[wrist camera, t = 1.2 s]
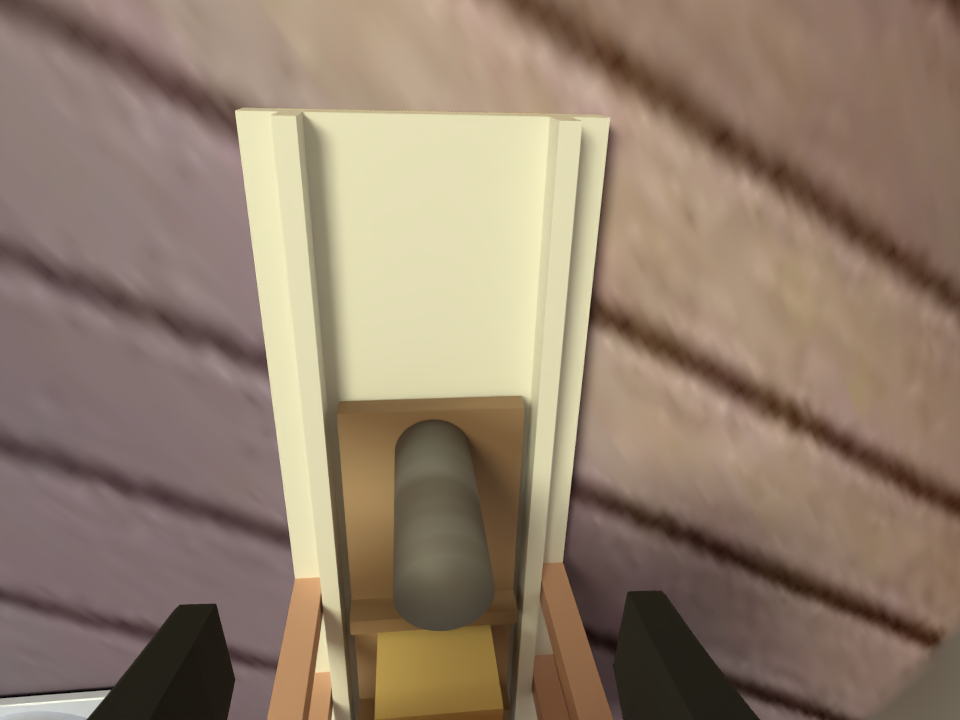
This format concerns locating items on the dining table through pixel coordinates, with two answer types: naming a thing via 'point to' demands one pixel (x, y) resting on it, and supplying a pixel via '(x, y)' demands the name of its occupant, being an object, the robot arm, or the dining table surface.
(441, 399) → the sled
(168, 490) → the dining table surface
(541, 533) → the track
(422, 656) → the block
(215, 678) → the robot arm
